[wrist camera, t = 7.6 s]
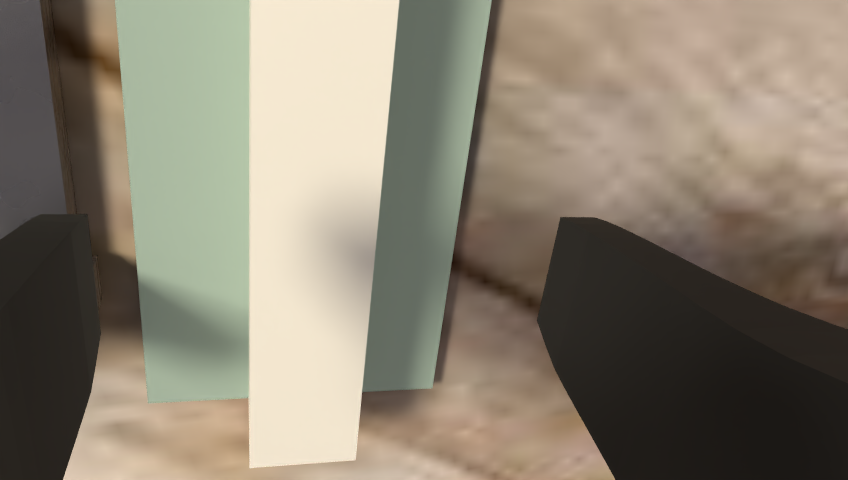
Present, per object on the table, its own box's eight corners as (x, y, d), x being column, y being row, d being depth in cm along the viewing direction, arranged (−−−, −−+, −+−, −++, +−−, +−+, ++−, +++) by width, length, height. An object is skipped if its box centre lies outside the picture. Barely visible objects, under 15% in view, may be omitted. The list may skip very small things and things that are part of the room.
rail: (343, 392, 24) (355, 460, 21) (248, 396, 23) (249, 468, 21) (406, -394, 15) (441, -440, 12) (250, -427, 14) (251, -482, 11)
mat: (428, 376, 25) (432, 388, 25) (149, 390, 23) (147, 403, 23) (537, -357, 16) (547, -363, 15) (83, -450, 14) (77, -460, 13)
